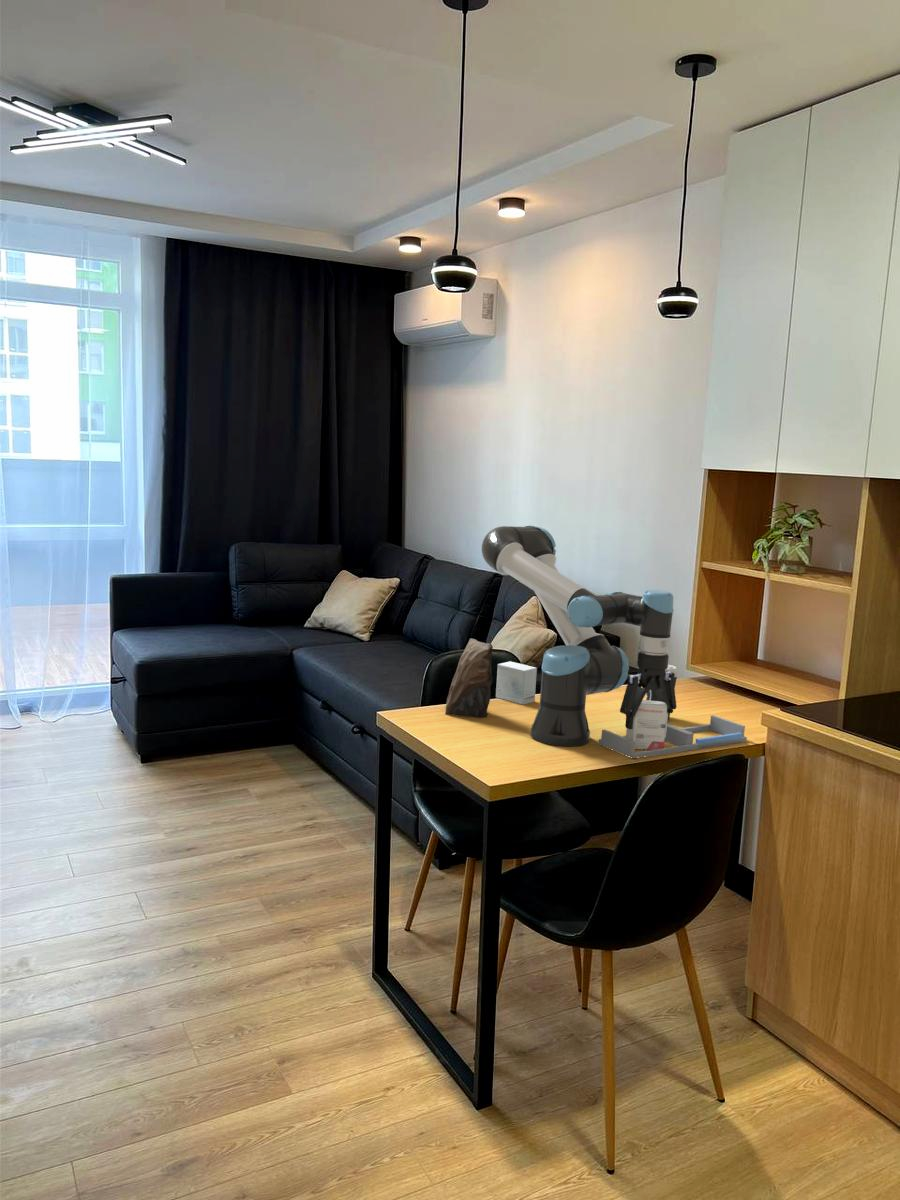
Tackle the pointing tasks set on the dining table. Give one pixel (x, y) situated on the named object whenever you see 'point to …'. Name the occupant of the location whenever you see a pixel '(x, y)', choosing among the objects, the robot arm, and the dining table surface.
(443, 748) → the dining table surface
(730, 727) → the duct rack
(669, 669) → the coffee cup
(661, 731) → the ink box
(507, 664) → the skincare box
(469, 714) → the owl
